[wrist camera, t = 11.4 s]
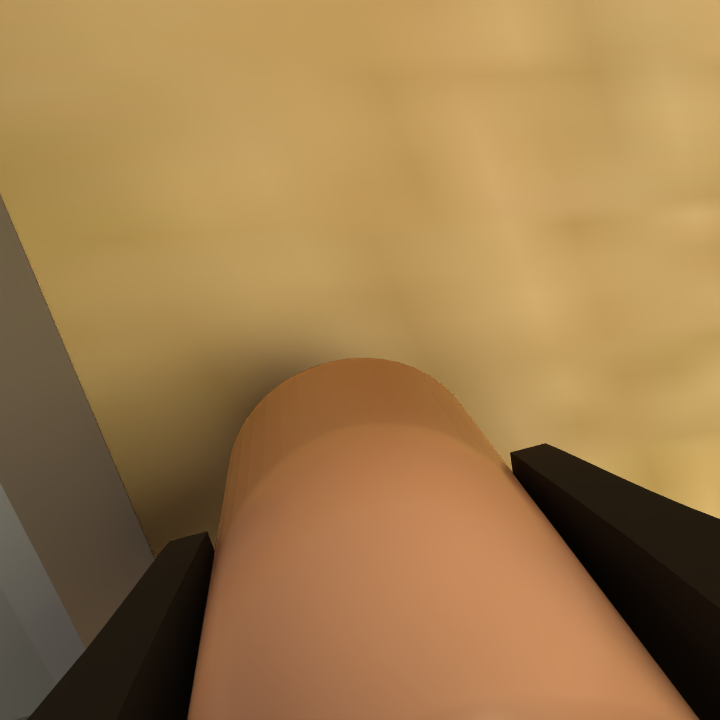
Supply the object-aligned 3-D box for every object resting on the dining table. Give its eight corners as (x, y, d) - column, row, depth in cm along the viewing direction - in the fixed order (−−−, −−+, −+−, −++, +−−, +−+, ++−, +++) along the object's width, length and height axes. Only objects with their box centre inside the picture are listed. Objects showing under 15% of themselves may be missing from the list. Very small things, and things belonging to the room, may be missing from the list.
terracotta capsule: (492, 545, 12) (744, 993, 6) (266, 606, 12) (252, 1154, 5) (460, 329, 10) (773, 615, 4) (194, 395, 10) (37, 824, 4)
